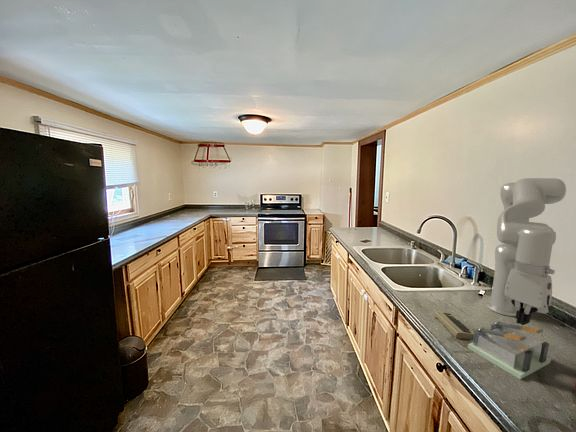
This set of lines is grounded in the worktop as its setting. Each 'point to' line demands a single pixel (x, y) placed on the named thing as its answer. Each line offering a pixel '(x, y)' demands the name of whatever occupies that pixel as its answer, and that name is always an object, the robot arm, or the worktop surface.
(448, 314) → the computer
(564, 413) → the worktop surface
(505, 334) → the strip
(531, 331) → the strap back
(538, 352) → the grey rack unit
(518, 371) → the board
